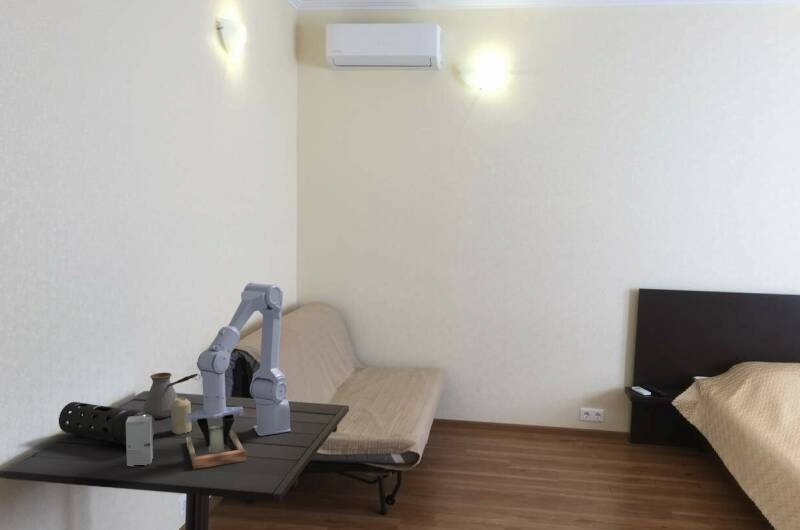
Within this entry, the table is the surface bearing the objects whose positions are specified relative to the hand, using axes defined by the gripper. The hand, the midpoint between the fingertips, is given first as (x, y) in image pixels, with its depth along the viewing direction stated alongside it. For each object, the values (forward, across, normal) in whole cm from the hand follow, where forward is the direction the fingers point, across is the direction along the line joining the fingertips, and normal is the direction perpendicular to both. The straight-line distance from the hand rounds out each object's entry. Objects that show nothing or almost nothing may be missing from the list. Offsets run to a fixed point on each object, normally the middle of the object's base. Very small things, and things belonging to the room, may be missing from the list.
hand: (216, 444), depth 177 cm
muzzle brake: (+3, -27, +23) cm, 36 cm away
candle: (+3, -7, +23) cm, 24 cm away
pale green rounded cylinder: (+2, 0, 0) cm, 2 cm away
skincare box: (+3, -19, +3) cm, 20 cm away
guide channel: (+3, 0, +4) cm, 5 cm away
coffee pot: (+3, -8, +38) cm, 39 cm away
